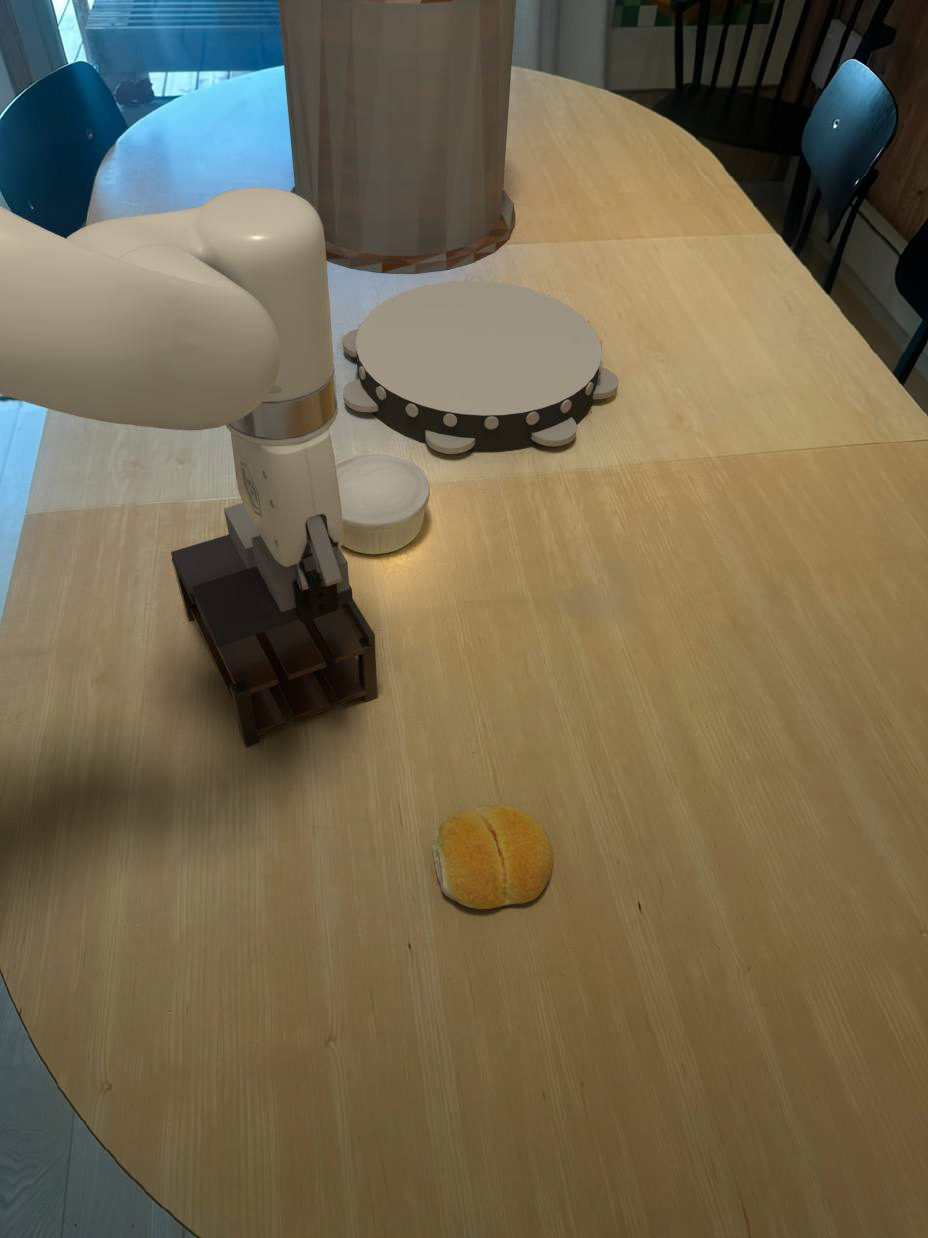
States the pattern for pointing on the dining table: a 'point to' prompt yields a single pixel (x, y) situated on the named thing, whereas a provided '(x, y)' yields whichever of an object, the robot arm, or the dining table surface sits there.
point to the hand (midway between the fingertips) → (302, 585)
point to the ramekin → (381, 501)
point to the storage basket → (401, 127)
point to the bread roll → (492, 857)
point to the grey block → (218, 552)
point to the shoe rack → (293, 666)
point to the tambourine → (477, 367)
